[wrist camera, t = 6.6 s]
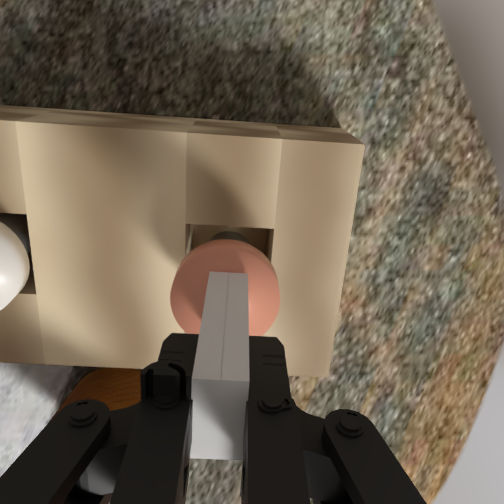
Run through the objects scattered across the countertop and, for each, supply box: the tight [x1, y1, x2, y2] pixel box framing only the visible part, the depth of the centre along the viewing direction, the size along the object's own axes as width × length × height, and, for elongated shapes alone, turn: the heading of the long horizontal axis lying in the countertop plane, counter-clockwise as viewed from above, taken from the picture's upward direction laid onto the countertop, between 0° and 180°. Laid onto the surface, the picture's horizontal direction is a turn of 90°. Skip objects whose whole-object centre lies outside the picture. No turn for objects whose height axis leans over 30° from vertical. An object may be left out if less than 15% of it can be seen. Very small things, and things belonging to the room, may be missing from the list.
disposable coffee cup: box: [46, 367, 141, 504], centre depth 25 cm, size 10×10×12 cm
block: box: [0, 105, 365, 377], centre depth 24 cm, size 22×12×5 cm, turn 86°
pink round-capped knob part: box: [170, 231, 280, 336], centre depth 21 cm, size 4×4×5 cm
